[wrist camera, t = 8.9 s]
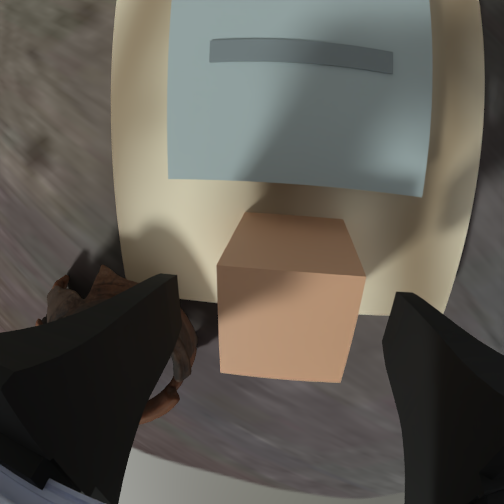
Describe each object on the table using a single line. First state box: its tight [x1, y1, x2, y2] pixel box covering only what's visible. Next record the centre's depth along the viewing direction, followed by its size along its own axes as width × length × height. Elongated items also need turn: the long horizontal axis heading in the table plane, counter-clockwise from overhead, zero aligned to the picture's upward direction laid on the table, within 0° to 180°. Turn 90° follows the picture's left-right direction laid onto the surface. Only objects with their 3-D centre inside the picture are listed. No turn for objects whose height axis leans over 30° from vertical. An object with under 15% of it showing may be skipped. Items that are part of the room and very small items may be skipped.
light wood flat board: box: [111, 0, 485, 316], centre depth 10 cm, size 16×26×2 cm, turn 179°
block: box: [216, 212, 366, 383], centre depth 11 cm, size 4×4×5 cm
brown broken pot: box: [36, 265, 198, 424], centre depth 17 cm, size 12×10×8 cm
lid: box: [167, 0, 432, 197], centre depth 9 cm, size 9×9×2 cm
